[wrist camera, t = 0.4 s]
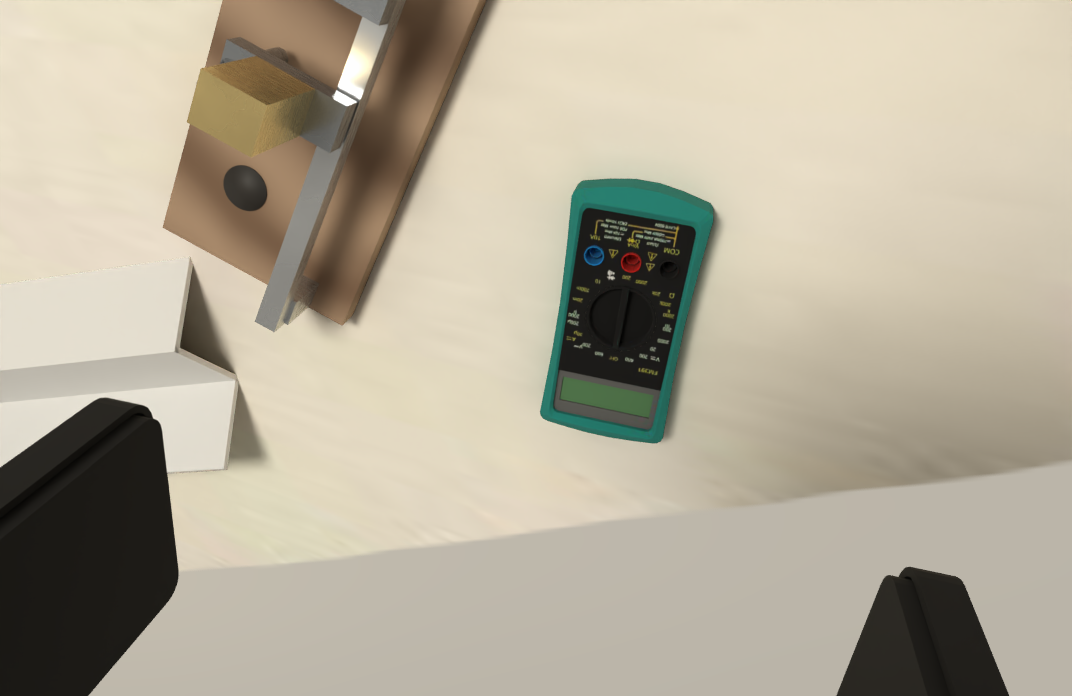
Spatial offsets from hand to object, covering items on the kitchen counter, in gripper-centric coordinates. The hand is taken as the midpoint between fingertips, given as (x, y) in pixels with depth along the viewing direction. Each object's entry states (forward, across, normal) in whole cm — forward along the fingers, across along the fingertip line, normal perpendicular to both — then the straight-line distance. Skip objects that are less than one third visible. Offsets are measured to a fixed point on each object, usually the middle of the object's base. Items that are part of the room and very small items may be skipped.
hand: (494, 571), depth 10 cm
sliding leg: (+32, +17, 0) cm, 36 cm away
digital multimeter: (+35, 0, +11) cm, 37 cm away
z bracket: (+35, +37, +23) cm, 56 cm away
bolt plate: (+34, +18, +2) cm, 39 cm away
